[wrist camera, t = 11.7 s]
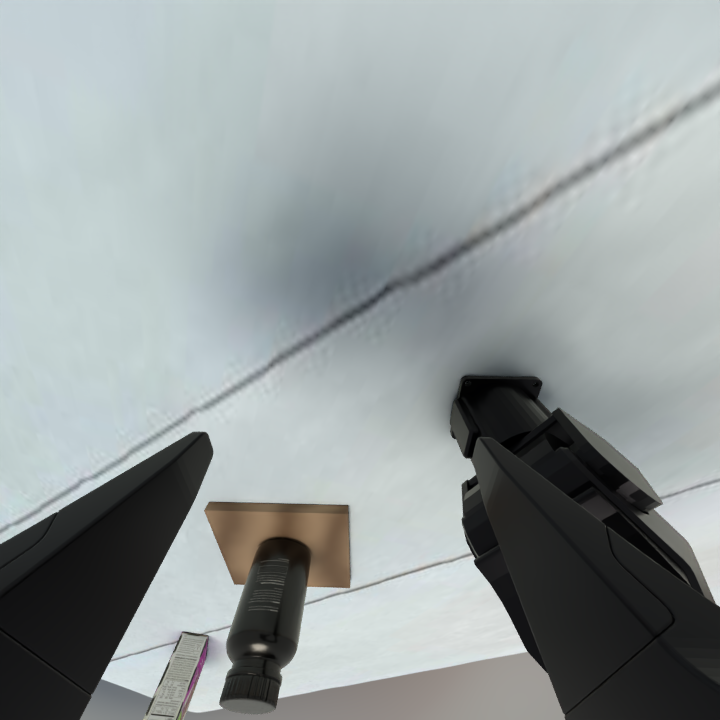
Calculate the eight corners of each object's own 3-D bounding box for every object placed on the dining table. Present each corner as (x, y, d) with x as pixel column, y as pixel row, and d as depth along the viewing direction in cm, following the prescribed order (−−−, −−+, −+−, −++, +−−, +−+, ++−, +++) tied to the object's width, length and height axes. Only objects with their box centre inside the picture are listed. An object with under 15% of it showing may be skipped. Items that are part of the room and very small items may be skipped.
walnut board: (348, 505, 31) (347, 514, 30) (350, 579, 38) (349, 587, 37) (208, 502, 31) (204, 510, 30) (237, 575, 38) (234, 584, 37)
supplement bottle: (248, 555, 34) (193, 708, 23) (271, 529, 31) (221, 688, 21) (297, 573, 36) (266, 723, 25) (322, 549, 33) (301, 706, 22)
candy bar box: (208, 658, 53) (146, 825, 38) (181, 654, 52) (109, 822, 37) (210, 635, 48) (141, 817, 33) (181, 630, 47) (98, 814, 32)
